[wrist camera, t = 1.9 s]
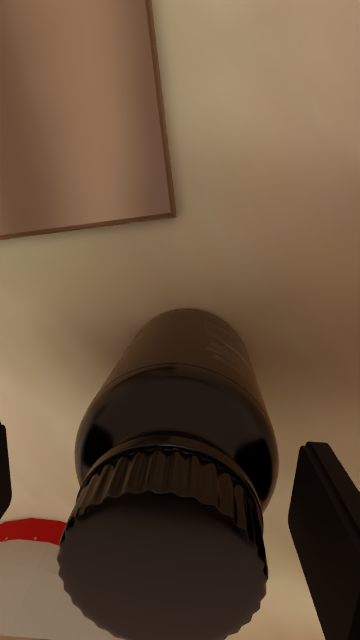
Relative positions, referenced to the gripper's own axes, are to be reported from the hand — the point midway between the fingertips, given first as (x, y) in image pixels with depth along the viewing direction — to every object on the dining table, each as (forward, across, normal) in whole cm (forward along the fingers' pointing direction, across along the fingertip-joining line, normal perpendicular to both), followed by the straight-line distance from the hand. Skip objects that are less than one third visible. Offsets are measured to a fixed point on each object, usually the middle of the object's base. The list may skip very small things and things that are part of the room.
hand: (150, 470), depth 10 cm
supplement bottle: (+9, -1, 0) cm, 9 cm away
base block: (+9, +7, -13) cm, 17 cm away
